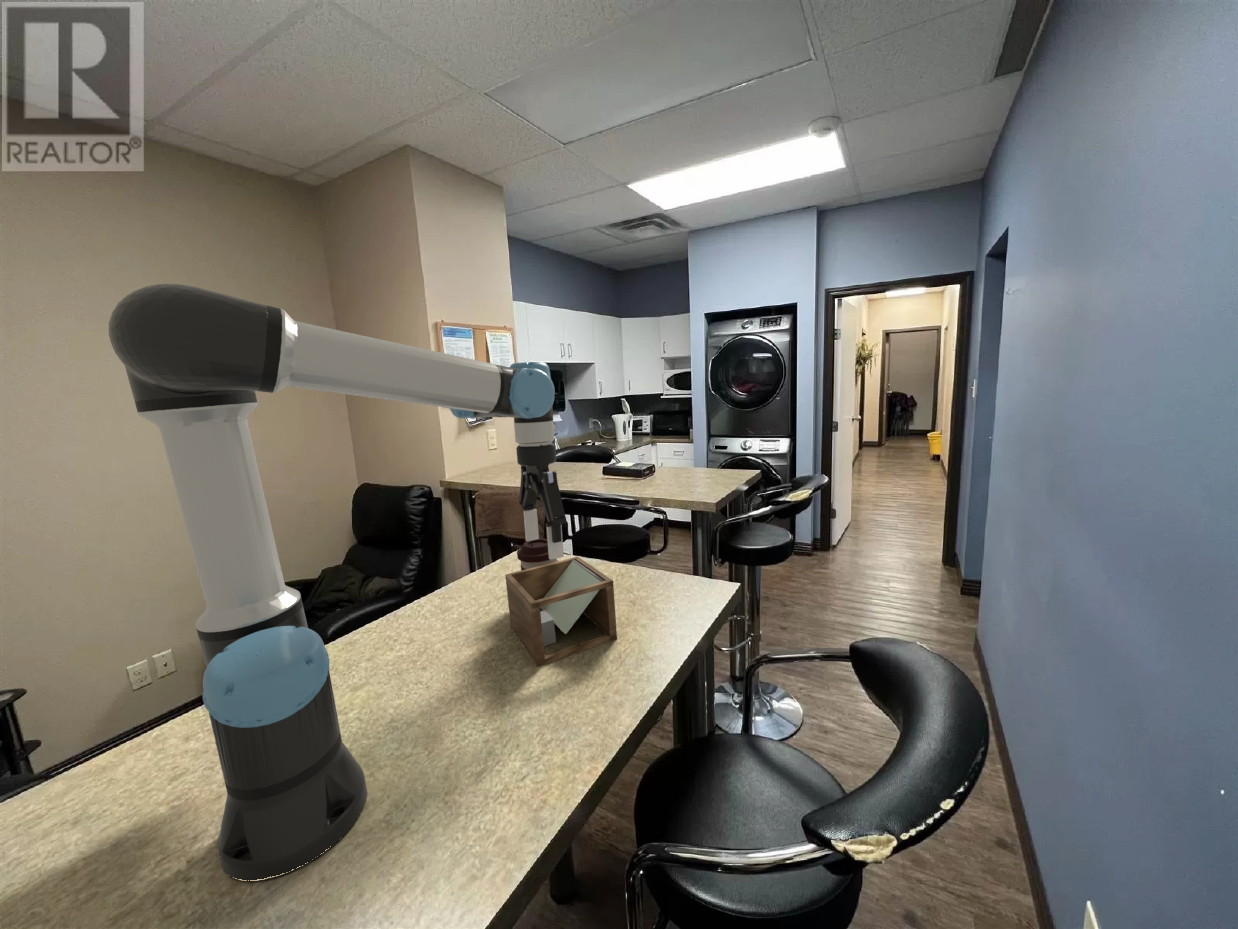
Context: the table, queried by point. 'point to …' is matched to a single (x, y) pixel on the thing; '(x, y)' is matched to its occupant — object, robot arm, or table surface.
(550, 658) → the box frame
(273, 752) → the robot arm
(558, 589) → the trapdoor
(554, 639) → the block
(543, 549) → the coffee cup
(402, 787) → the table surface
